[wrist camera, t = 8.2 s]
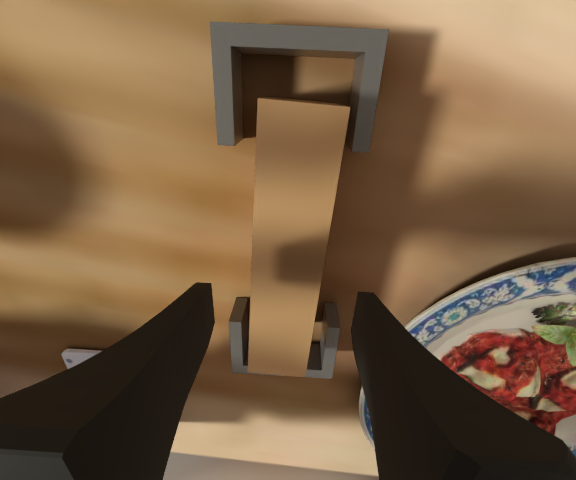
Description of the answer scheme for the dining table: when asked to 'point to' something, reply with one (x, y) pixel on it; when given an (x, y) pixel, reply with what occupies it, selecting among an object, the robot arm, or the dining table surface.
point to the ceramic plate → (510, 343)
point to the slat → (291, 226)
